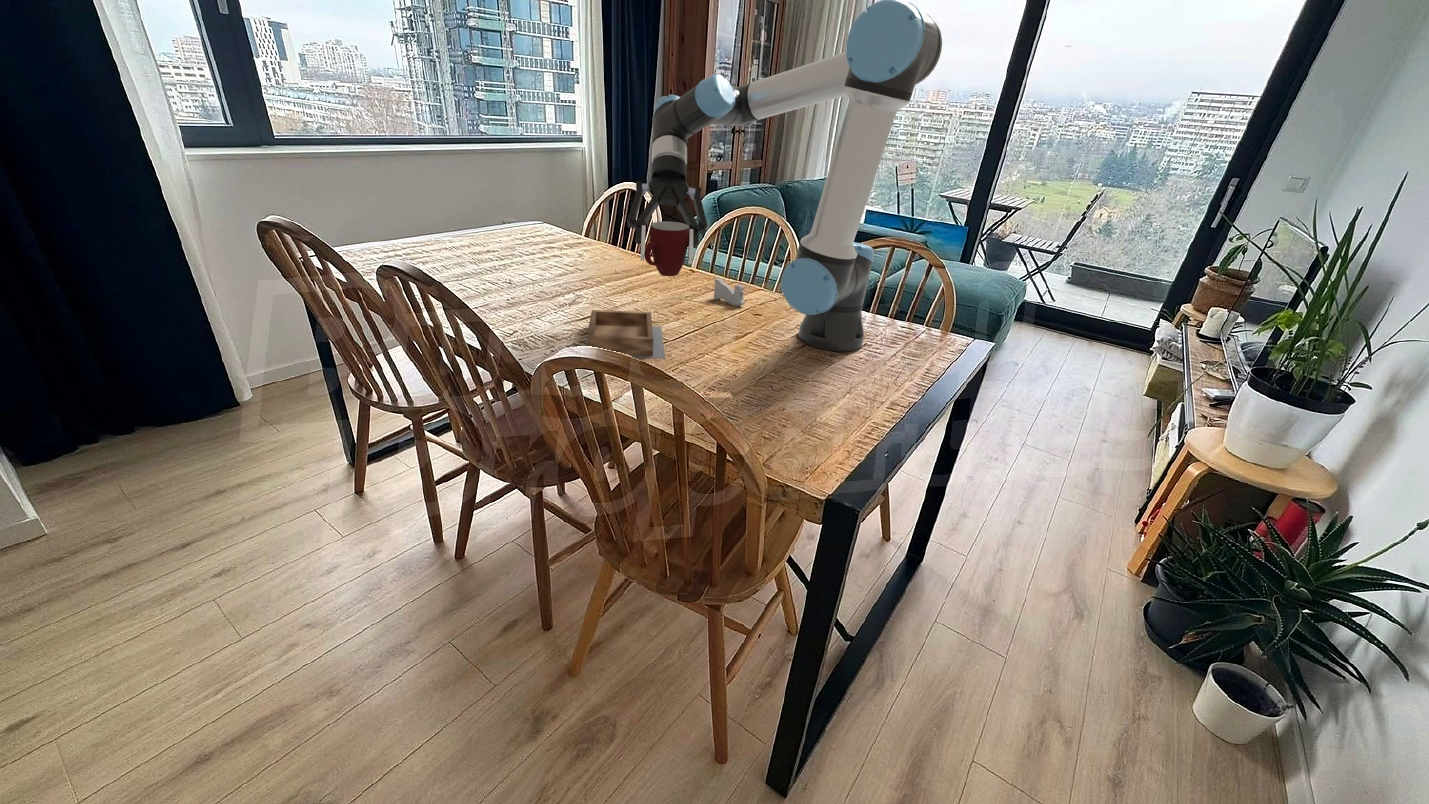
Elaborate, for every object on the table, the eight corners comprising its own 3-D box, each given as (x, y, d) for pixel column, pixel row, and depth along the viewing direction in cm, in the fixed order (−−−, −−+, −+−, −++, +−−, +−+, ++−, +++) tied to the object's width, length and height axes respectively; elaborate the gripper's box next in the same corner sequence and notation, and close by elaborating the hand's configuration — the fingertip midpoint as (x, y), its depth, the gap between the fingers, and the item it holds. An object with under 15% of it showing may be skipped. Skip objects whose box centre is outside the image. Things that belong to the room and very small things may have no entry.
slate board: (661, 330, 131) (661, 326, 131) (665, 362, 116) (665, 358, 115) (590, 328, 129) (590, 324, 128) (584, 360, 113) (584, 356, 113)
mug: (664, 285, 115) (665, 234, 110) (633, 275, 119) (633, 227, 114) (695, 273, 123) (697, 226, 118) (665, 265, 126) (666, 219, 121)
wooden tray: (650, 327, 130) (650, 312, 128) (652, 356, 116) (653, 338, 114) (592, 325, 128) (591, 309, 126) (587, 354, 114) (586, 336, 112)
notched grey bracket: (716, 298, 157) (745, 307, 152) (713, 299, 156) (742, 308, 151) (718, 277, 155) (747, 286, 149) (715, 278, 154) (744, 287, 148)
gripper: (717, 180, 127) (717, 271, 121) (618, 171, 124) (612, 264, 118) (722, 157, 120) (722, 253, 114) (617, 147, 117) (611, 245, 111)
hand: (666, 259), depth 116 cm, fingers closed on mug, 9 cm apart
